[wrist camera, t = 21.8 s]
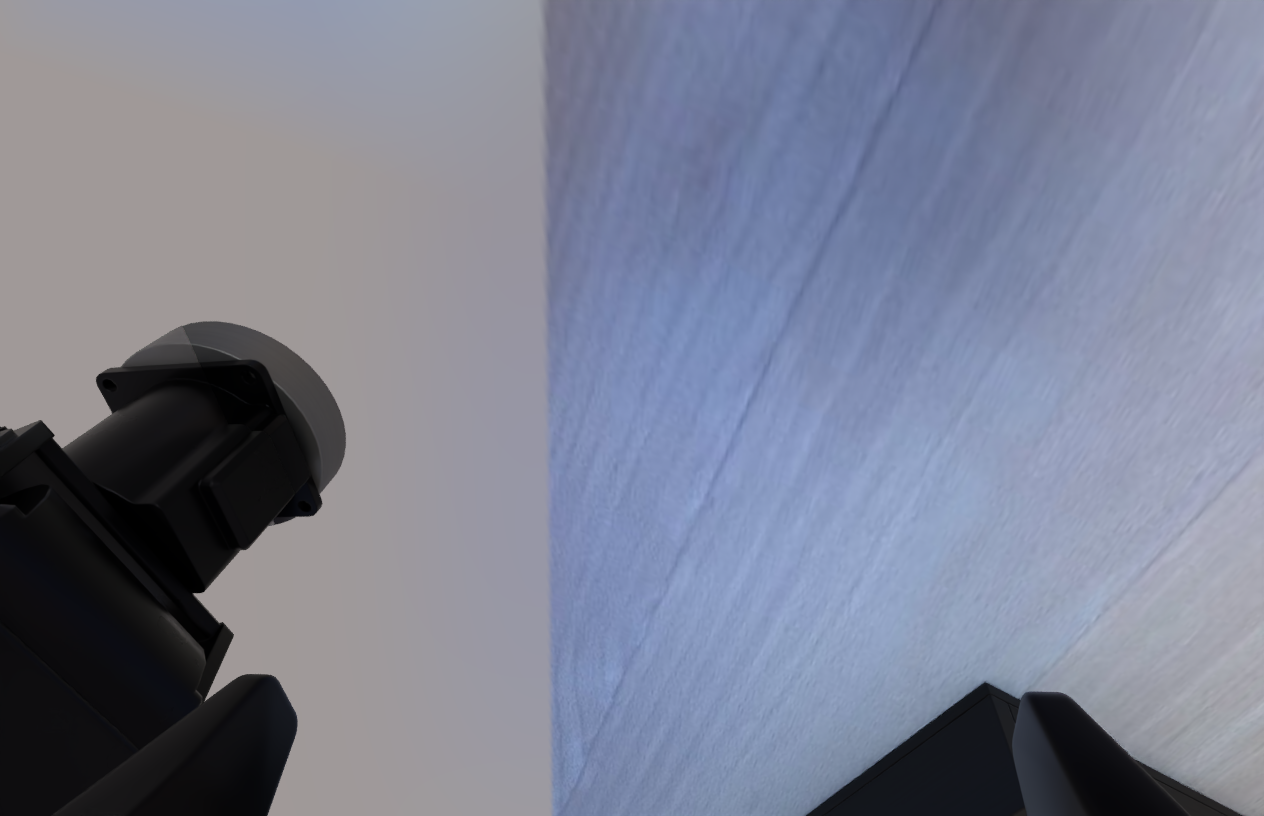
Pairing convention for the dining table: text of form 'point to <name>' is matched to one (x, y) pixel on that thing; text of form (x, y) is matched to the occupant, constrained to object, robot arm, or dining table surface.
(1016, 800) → the tin
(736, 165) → the dining table surface
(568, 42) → the dining table surface
